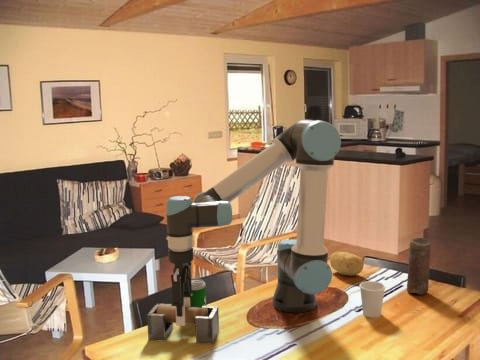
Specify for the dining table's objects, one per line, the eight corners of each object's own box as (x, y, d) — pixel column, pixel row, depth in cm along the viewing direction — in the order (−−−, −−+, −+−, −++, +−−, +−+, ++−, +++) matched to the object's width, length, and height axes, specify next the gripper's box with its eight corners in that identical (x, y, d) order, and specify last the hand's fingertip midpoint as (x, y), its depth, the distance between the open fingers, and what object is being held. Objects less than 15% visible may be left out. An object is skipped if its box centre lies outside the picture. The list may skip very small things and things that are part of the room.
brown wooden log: (208, 317, 155) (207, 304, 153) (205, 328, 151) (203, 315, 149) (162, 314, 158) (160, 301, 156) (157, 325, 153) (155, 312, 151)
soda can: (203, 320, 164) (202, 286, 162) (181, 319, 166) (179, 284, 164) (209, 311, 172) (208, 277, 170) (188, 310, 173) (186, 276, 171)
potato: (344, 281, 196) (345, 258, 195) (327, 270, 210) (327, 248, 208) (367, 278, 199) (367, 255, 198) (348, 267, 213) (348, 245, 212)
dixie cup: (389, 313, 167) (390, 284, 165) (377, 321, 161) (377, 292, 159) (366, 306, 172) (367, 279, 171) (354, 314, 166) (354, 286, 165)
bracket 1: (148, 339, 152) (147, 315, 151) (158, 327, 160) (156, 303, 159) (164, 341, 151) (162, 315, 150) (173, 328, 160) (171, 304, 158)
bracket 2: (218, 330, 157) (218, 306, 156) (212, 344, 148) (211, 318, 147) (203, 329, 158) (202, 305, 157) (196, 343, 149) (195, 317, 148)
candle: (430, 291, 185) (432, 238, 182) (426, 298, 179) (428, 243, 176) (409, 287, 189) (411, 236, 186) (404, 294, 183) (406, 241, 180)
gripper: (177, 239, 159) (180, 308, 163) (158, 256, 142) (162, 333, 146) (200, 240, 158) (202, 309, 162) (184, 257, 141) (187, 335, 144)
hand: (183, 321), depth 154 cm, fingers closed on brown wooden log, 5 cm apart
